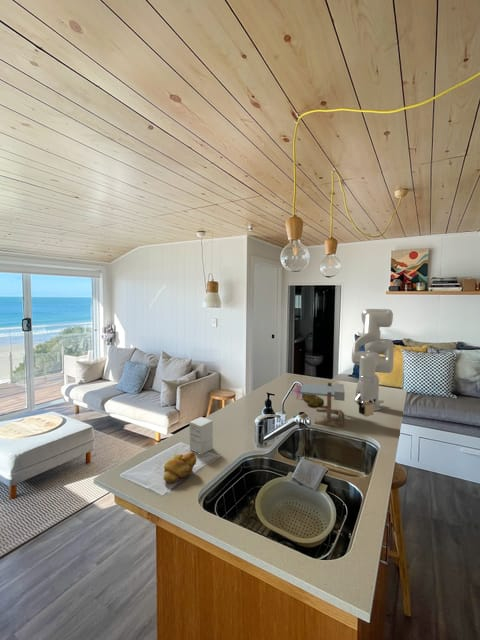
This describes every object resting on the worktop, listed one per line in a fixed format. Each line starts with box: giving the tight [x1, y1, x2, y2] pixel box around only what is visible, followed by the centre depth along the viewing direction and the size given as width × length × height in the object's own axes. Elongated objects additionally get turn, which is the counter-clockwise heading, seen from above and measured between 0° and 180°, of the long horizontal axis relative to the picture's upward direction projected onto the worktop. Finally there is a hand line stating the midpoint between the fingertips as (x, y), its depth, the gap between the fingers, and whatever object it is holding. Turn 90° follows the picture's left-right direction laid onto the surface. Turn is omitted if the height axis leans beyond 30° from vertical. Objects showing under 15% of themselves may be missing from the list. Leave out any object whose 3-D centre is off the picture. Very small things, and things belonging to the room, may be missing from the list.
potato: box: [301, 394, 325, 407], centre depth 189 cm, size 8×13×8 cm, turn 50°
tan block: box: [359, 401, 374, 418], centre depth 160 cm, size 5×5×6 cm
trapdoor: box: [300, 383, 346, 402], centre depth 170 cm, size 22×16×4 cm
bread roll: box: [163, 451, 197, 484], centre depth 114 cm, size 13×10×8 cm
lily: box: [291, 381, 307, 400], centre depth 203 cm, size 12×12×10 cm
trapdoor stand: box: [314, 382, 344, 428], centre depth 169 cm, size 14×22×17 cm, turn 163°
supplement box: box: [189, 416, 214, 455], centre depth 133 cm, size 7×7×13 cm
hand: (365, 412), depth 161 cm, fingers closed on tan block, 5 cm apart
